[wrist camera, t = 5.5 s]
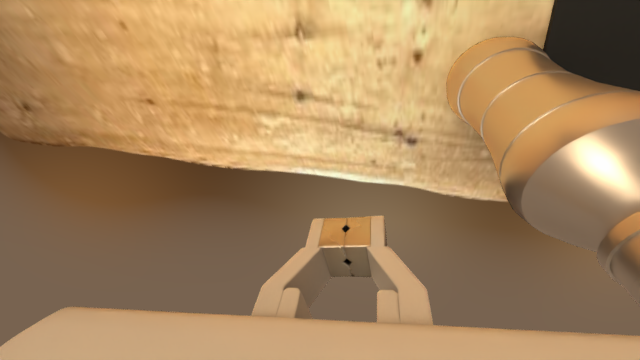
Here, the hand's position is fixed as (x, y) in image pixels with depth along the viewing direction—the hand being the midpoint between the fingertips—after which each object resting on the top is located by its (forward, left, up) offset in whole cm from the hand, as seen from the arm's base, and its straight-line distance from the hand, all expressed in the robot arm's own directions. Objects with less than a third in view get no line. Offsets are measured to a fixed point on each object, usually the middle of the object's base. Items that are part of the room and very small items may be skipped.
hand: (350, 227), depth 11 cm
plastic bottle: (-10, 0, -17) cm, 20 cm away
